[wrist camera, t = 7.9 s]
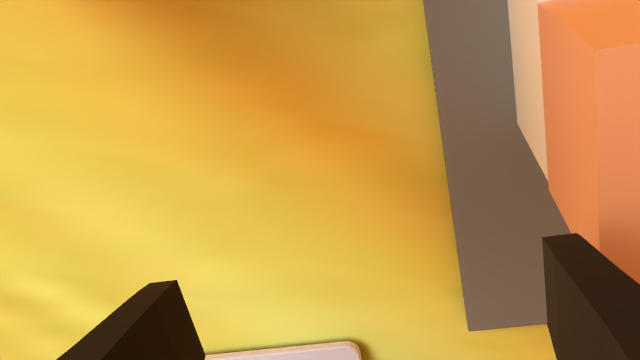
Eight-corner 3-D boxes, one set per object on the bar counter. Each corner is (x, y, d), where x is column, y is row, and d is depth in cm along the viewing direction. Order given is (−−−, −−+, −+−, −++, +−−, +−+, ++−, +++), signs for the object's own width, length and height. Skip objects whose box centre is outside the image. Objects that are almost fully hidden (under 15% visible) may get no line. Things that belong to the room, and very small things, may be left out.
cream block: (645, 103, 20) (711, 161, 16) (517, 123, 20) (548, 183, 16) (647, -60, 18) (723, -41, 14) (505, -31, 18) (537, -6, 14)
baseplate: (709, 300, 23) (714, 307, 23) (467, 324, 25) (468, 331, 24) (736, -98, 17) (743, -97, 17) (418, -33, 19) (418, -31, 19)
